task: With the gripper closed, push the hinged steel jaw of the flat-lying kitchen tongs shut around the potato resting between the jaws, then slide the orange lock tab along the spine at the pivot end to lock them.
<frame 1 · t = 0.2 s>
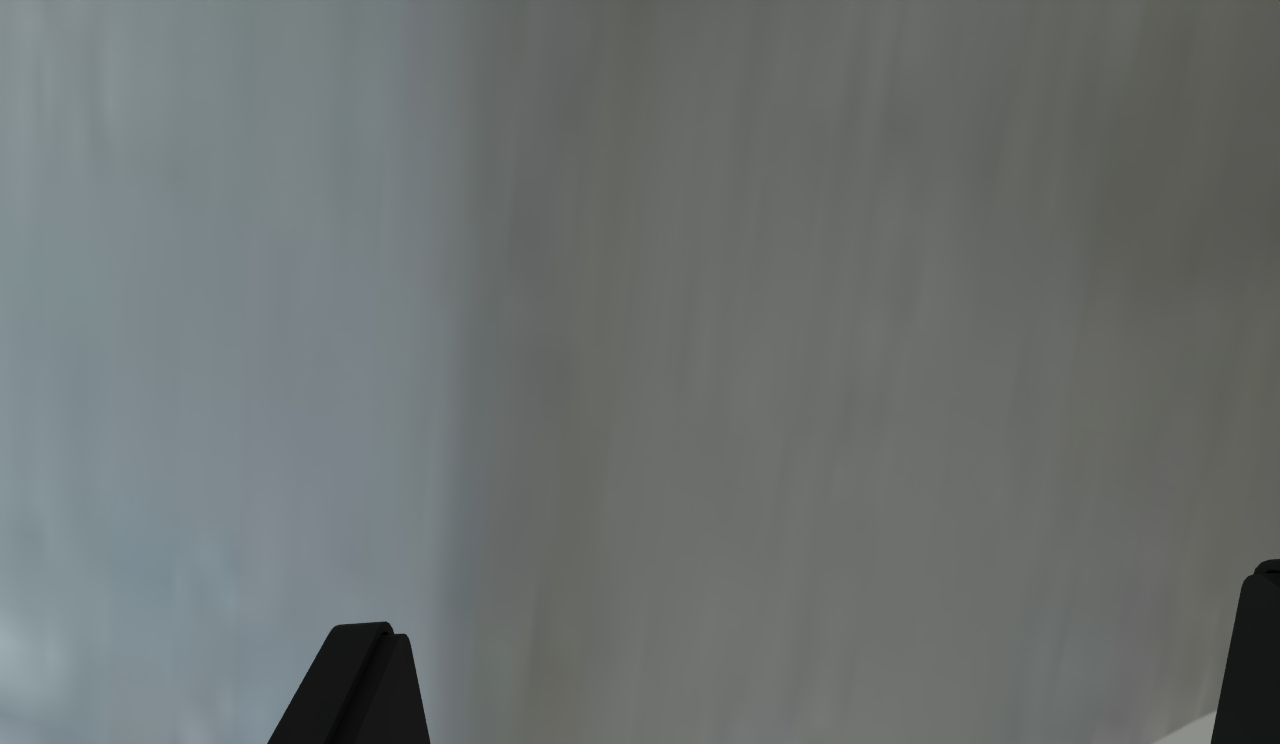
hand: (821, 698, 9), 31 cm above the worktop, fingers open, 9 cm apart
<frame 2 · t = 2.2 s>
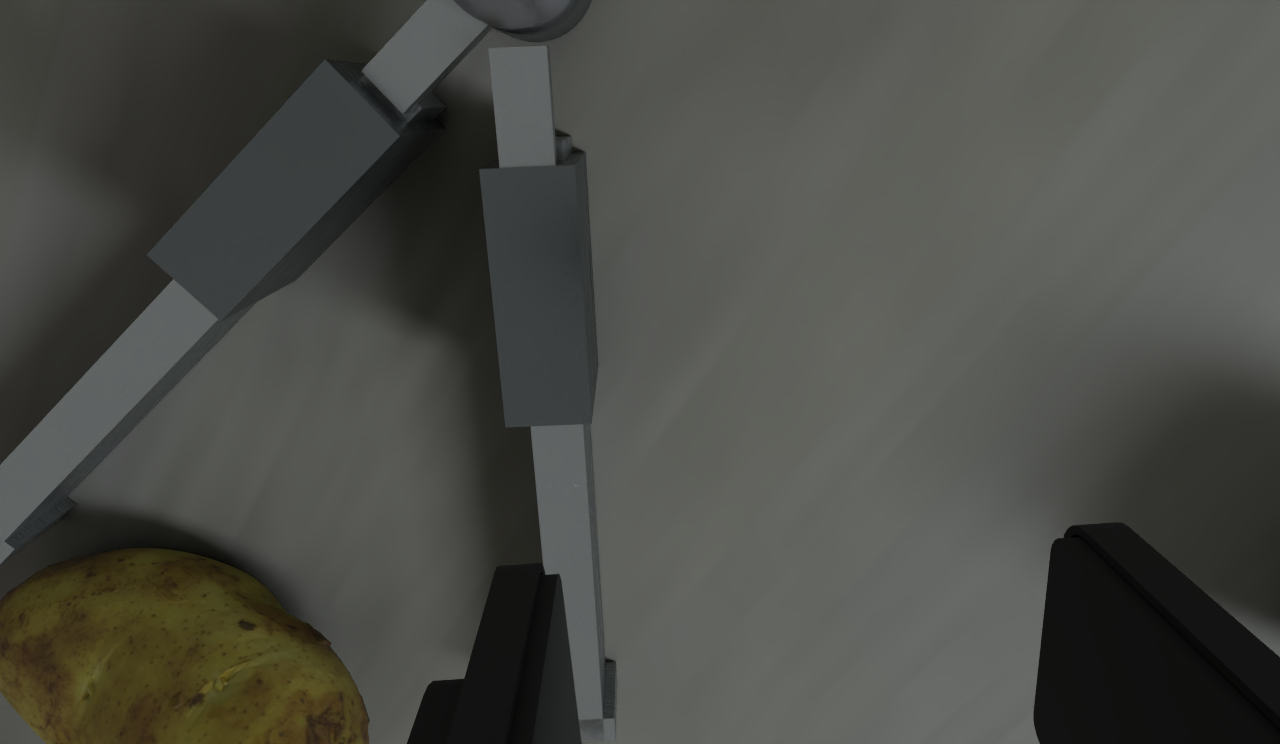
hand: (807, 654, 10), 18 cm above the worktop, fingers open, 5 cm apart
tongs jaw: (559, 441, 25), point 3 cm above the worktop, hinge at 12.0°
potato: (239, 615, 30), on the worktop
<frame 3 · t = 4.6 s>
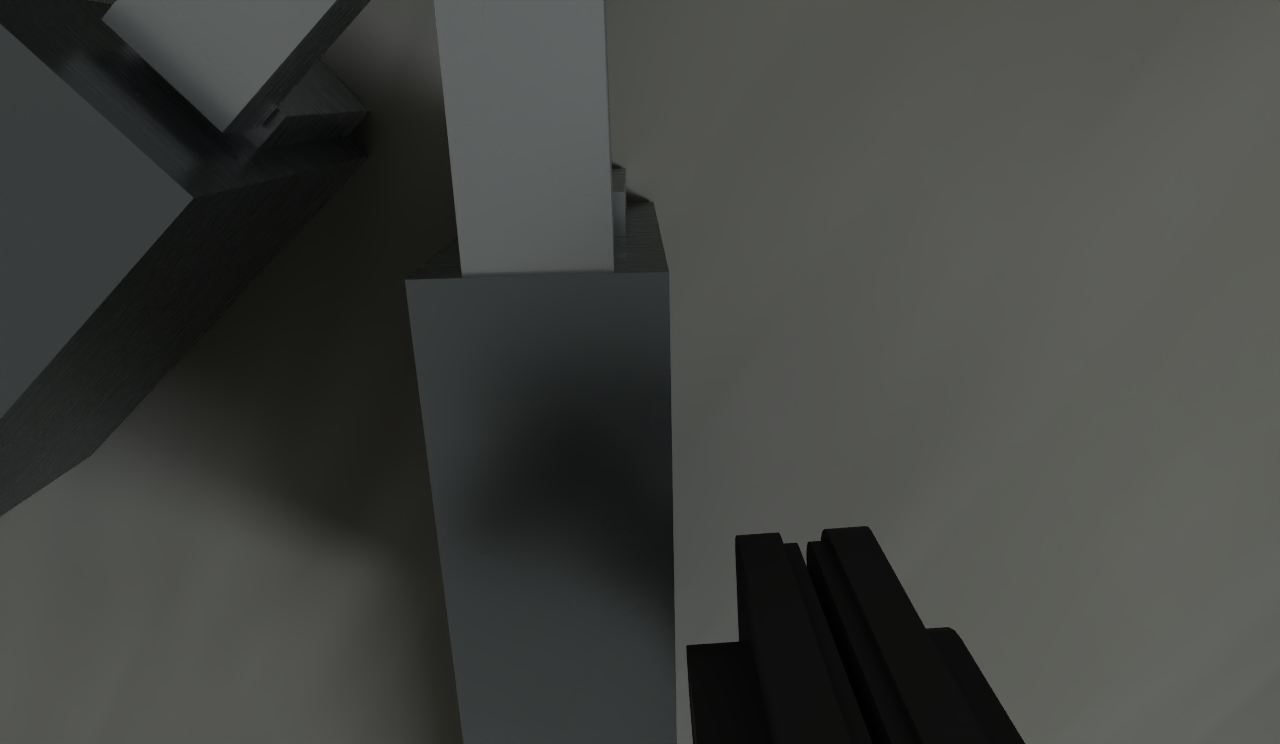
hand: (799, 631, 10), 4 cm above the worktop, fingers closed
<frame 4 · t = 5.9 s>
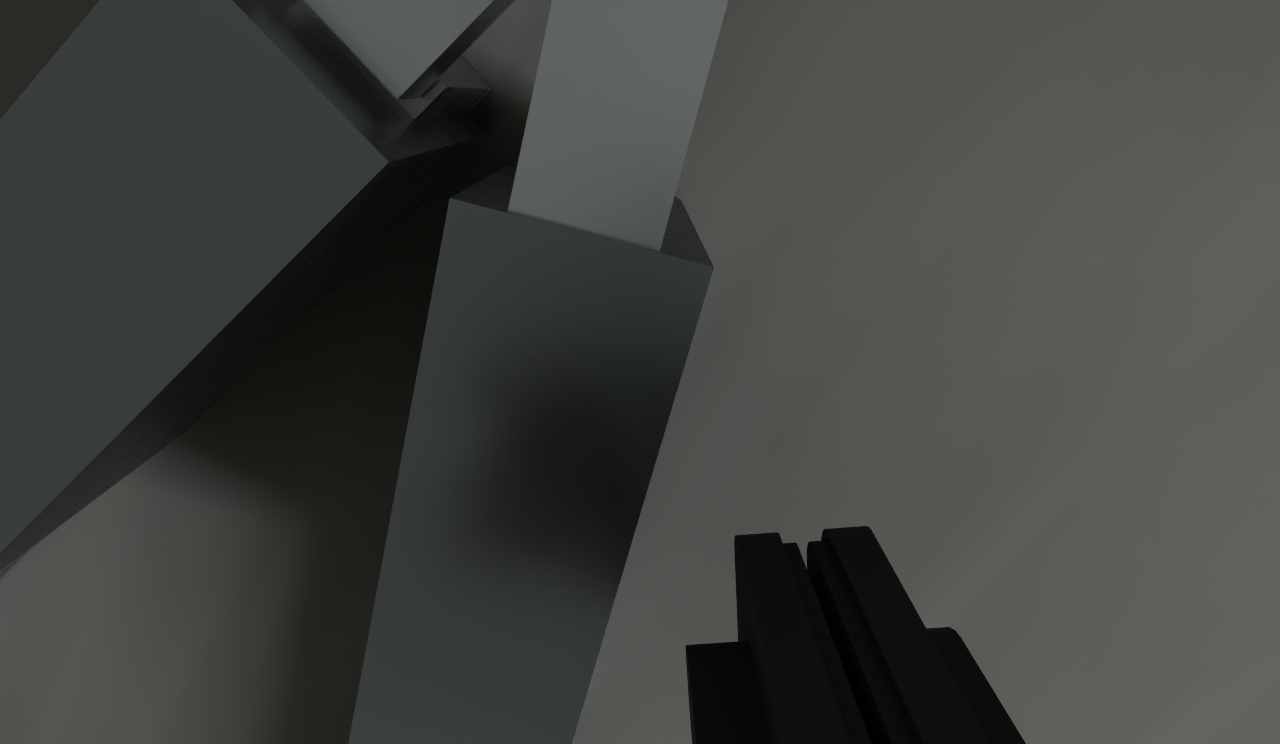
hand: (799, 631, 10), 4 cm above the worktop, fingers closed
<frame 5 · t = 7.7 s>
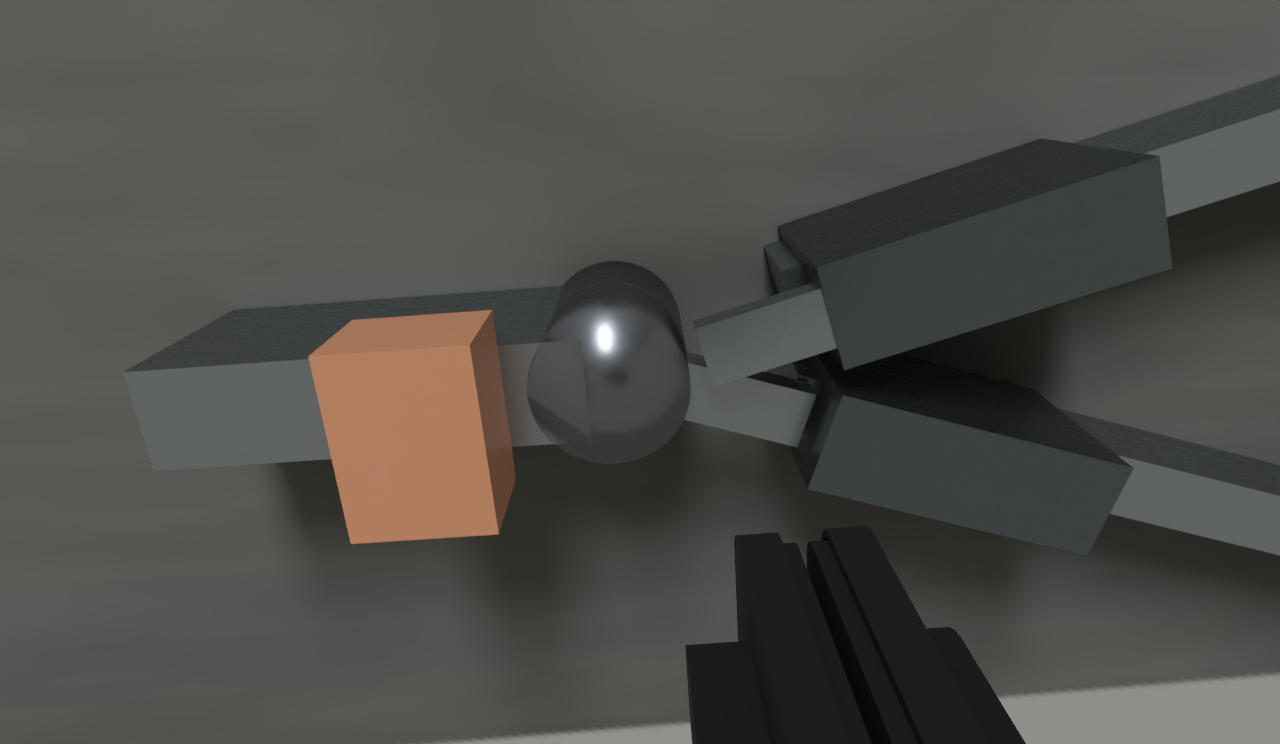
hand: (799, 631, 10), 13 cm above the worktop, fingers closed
tongs jaw: (1170, 174, 18), point 3 cm above the worktop, hinge at -4.5°
tongs fixed: (615, 325, 22), on the worktop
lock tab: (423, 424, 17), point 6 cm above the worktop, slide at 0.0 cm
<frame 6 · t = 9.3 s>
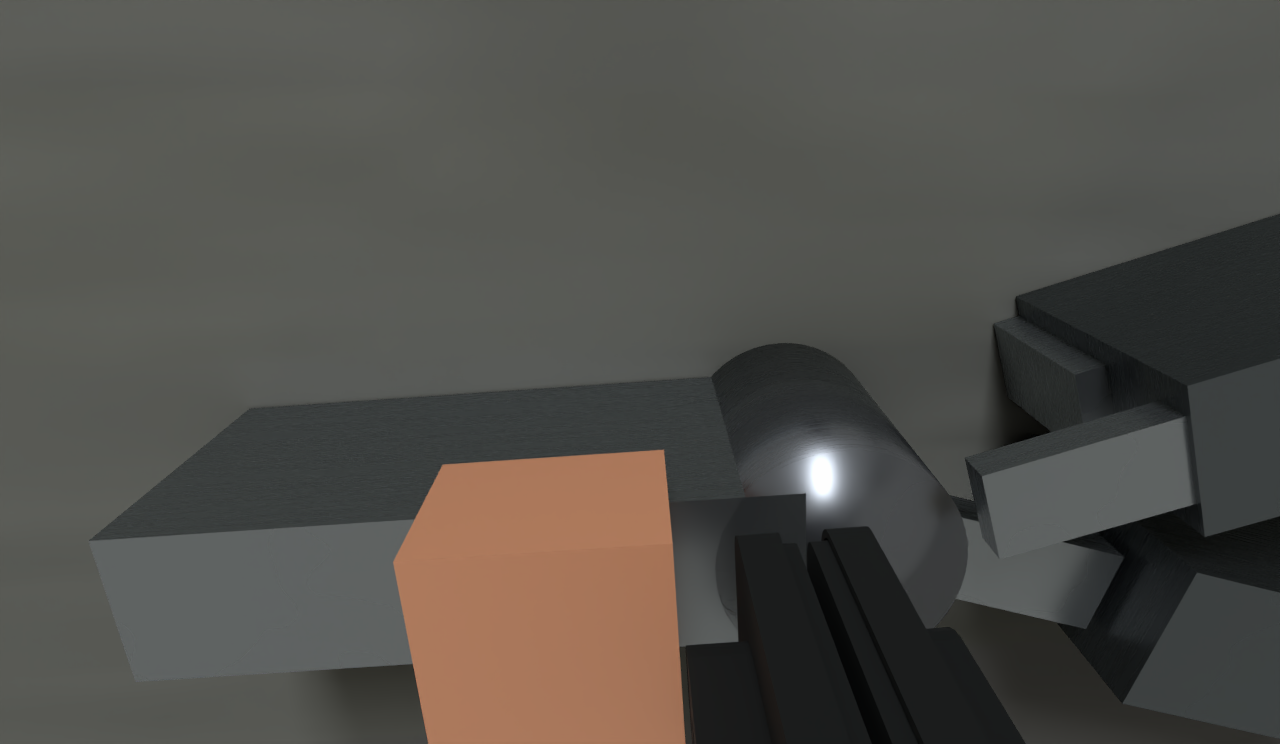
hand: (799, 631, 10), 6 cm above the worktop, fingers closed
tongs fixed: (779, 428, 16), on the worktop
lock tab: (560, 637, 10), point 6 cm above the worktop, slide at 0.1 cm, touching gripper
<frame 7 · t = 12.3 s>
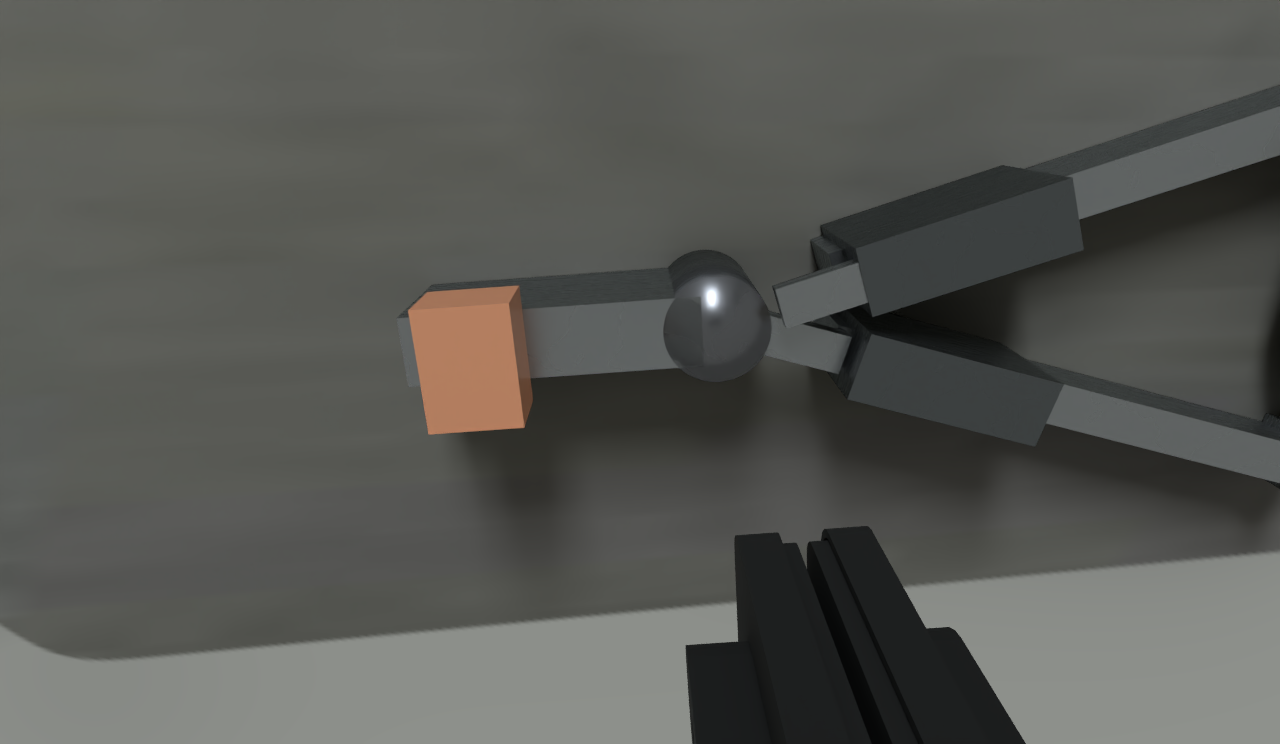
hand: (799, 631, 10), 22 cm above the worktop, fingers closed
tongs jaw: (1086, 189, 28), point 3 cm above the worktop, hinge at -4.5°
tongs fixed: (704, 295, 31), on the worktop
lock tab: (474, 358, 26), point 6 cm above the worktop, slide at 4.1 cm
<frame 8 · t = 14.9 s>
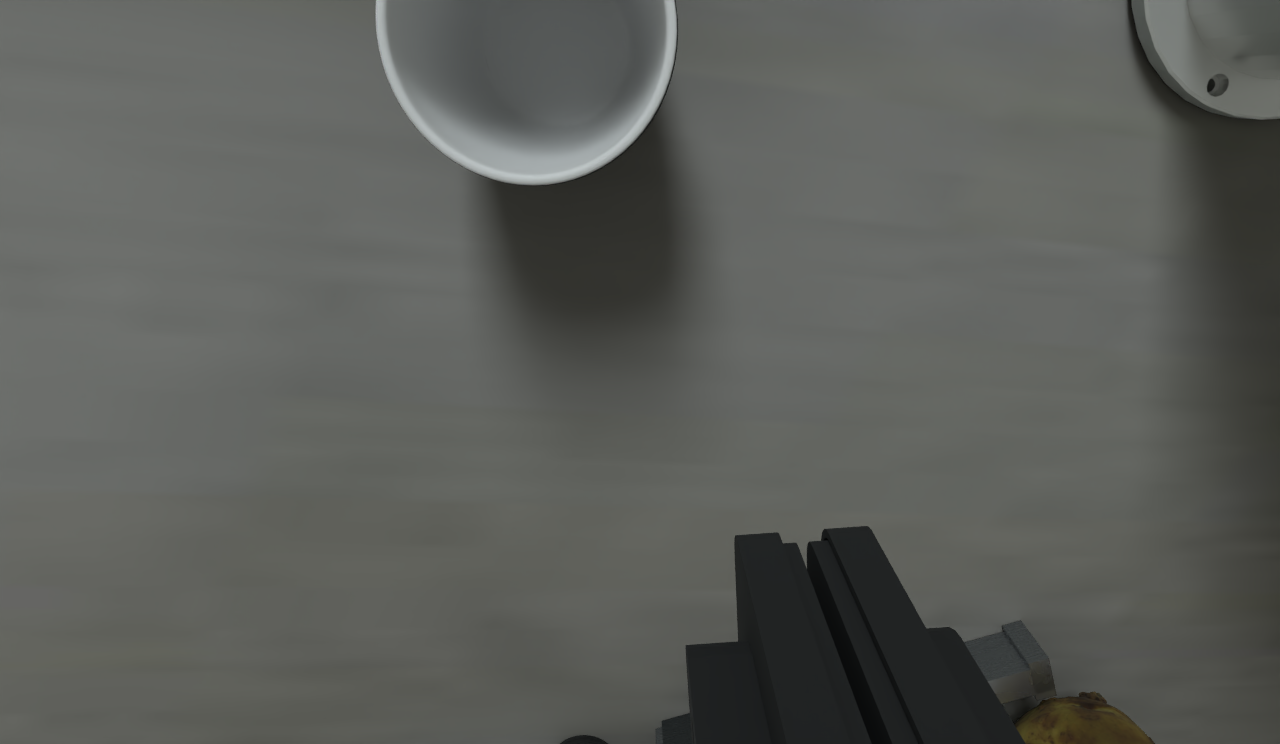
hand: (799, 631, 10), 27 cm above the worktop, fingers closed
tongs jaw: (828, 730, 42), point 3 cm above the worktop, hinge at -4.5°
mug: (566, 12, 33), on the worktop
potato: (1032, 740, 45), on the worktop
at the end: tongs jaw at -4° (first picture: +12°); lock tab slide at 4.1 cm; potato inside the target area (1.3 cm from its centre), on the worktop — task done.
